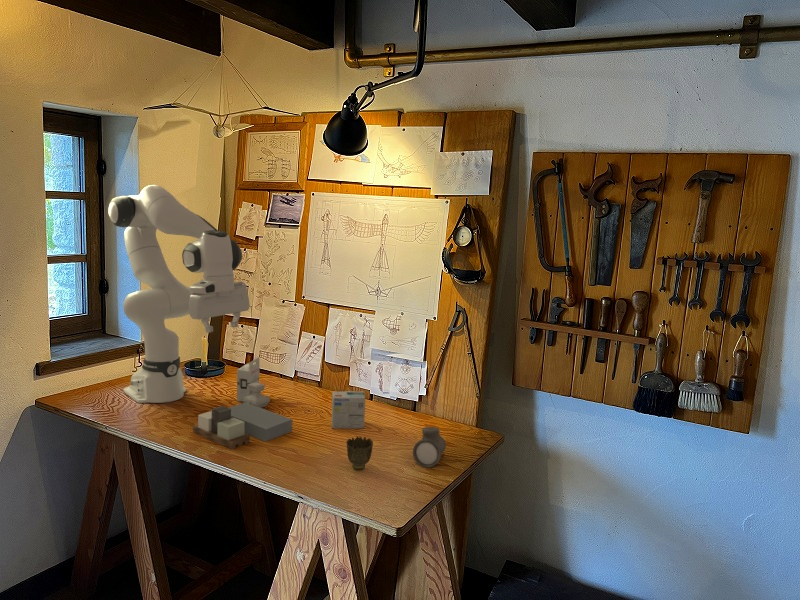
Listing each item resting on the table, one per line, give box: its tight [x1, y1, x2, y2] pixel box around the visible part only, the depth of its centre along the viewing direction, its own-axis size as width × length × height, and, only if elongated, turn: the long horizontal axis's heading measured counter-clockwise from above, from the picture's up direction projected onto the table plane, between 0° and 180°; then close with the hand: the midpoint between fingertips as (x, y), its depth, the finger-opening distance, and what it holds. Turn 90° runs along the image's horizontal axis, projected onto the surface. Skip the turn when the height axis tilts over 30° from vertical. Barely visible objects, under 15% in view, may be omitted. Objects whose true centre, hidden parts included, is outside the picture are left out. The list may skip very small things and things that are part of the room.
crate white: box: [197, 410, 212, 432], centre depth 192 cm, size 5×6×4 cm
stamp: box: [242, 382, 271, 408], centre depth 216 cm, size 9×7×8 cm
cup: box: [346, 436, 374, 471], centre depth 174 cm, size 8×7×8 cm
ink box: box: [236, 356, 260, 403], centre depth 223 cm, size 9×5×15 cm, turn 168°
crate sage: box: [217, 418, 245, 440], centre depth 187 cm, size 5×6×4 cm
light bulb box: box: [331, 390, 366, 430], centre depth 205 cm, size 11×7×11 cm, turn 100°
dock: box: [228, 402, 293, 442], centre depth 199 cm, size 22×11×4 cm, turn 55°
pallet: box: [192, 405, 251, 450], centre depth 189 cm, size 18×7×9 cm, turn 55°
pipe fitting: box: [412, 426, 447, 469], centre depth 183 cm, size 12×8×10 cm
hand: (222, 329), depth 190 cm, fingers open, 8 cm apart
